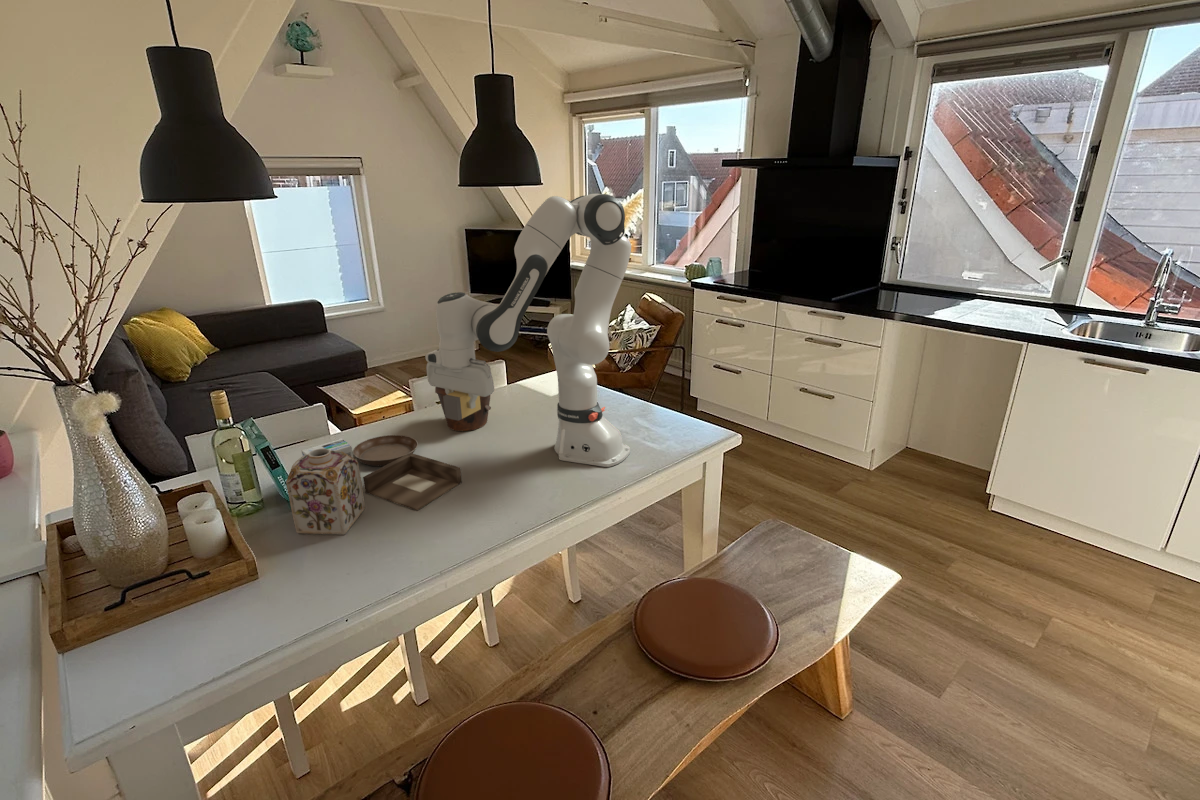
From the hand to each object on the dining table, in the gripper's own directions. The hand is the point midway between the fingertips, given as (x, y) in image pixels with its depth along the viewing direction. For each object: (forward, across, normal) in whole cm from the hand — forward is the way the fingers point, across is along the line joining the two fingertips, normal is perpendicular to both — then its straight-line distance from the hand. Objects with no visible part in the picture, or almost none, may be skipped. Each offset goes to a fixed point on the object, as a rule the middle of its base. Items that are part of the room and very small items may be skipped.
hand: (462, 405), depth 160 cm
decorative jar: (+18, +9, +37) cm, 42 cm away
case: (+18, +20, -23) cm, 35 cm away
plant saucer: (+18, +25, +6) cm, 32 cm away
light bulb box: (+18, +24, +25) cm, 39 cm away
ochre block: (+2, 0, 0) cm, 2 cm away
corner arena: (+18, +4, +16) cm, 25 cm away
